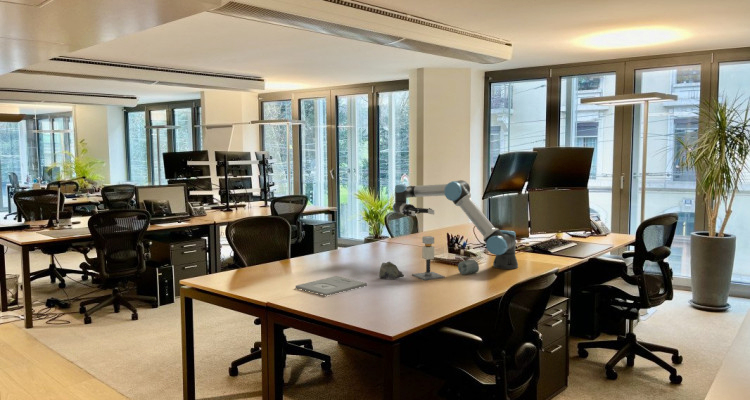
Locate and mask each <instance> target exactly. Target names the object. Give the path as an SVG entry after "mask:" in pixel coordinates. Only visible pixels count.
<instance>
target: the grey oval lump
mask: <svg viewBox="0 0 750 400" xmlns="http://www.w3.org/2000/svg"><path fill="white" fill-rule="evenodd" d="M457 269H458V272H459V273H460V274H461V275H462V276H466V275H469V274H476V273H478V272H479V270H480V266H479V263H478V262H477V261H476V260H474V259H467V260H463V261H459V263H458V264H457Z"/></svg>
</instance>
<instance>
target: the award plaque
mask: <svg viewBox="0 0 750 400" xmlns="http://www.w3.org/2000/svg"><path fill="white" fill-rule="evenodd" d="M364 286H365V287H367V286H368V283H367V282H364V281H360V280H355V279H351V278H347V277H344V276H343V277H342V276H339V275H334V276H331V277H330V276H329V277H327V278H322V279H318V280H313V281H308V282H305V283H301V284H297V285H295V289H296V288H298V289H297V290H299V289H302V290H306V291H310V292H314V293H318V294H323V295H326V296H327V295H330V294H335V293H339V292H343V291H346V292H348V291H347V290H350V291H352V290H351V289H354V290H356V289H355V288H357V289H360V288H359V287H361V288H364ZM302 290H301V291H302ZM306 291H305V292H306ZM310 292H309V293H310ZM314 293H313V294H314ZM343 293H344V292H343ZM318 294H317V295H318ZM339 294H340V293H339ZM335 295H336V294H335Z"/></svg>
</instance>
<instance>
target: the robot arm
mask: <svg viewBox="0 0 750 400" xmlns="http://www.w3.org/2000/svg"><path fill="white" fill-rule="evenodd" d="M470 191H471V187H470V184H469V183H468V182H467V181H466V180H461V179H460V180H453V181H449V182H448V183H443V184H440V183H439V184H427V185H409V186H407V185H406V184H396V185H395V187H394V203H393V205H392V210H393V212H394V213H396V214H398V215H404V216H405V217H416V214H429V215H433V216H435V210H434V209H433V208H430V207H429V208H423V207H416V206H414V204H412V203H407V199H410V198H420V197H421V198H423V197H424V198H425V197H445V198H446V199H447V200H449V201H451V202H452V203H453V204H454V205H455V207H456V206H457V207H460V209H461V211H463V212H464V214H465V215H466V217H467V218H468V219H469V221H470V222H471V223H472V224H473V225H474V226H475V227H476V229H477V231H479V233H480V234H481V236H482V237H483V242H484V244H485V245H486V249H487V251H488V252H489V253H490V254H491V255H495V257H494V260H493V262H492V263H493V267H494V268H496V269H500V270H514V269H518V267H519V263H518V260H517V256H516V238H517V236H516V234H517V233H516V232H515V231H514V230H506V229H505V230H503V229H499V228H497V227H495V226H494V225H493V224H492V223H491V221H490V220H489V219H488V218H487V217H486V215H485V213H483V211H482V210H481V209H480V207H479V206H478V205H477V204H476V202H475V201H474V200H473V198H471V196H472V194H471V192H470Z"/></svg>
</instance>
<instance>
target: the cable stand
mask: <svg viewBox="0 0 750 400" xmlns="http://www.w3.org/2000/svg"><path fill="white" fill-rule="evenodd" d="M421 241H422V244H424V246H426V247H430V246H433V244H435V237H434V236H432V235H429V236H428V235H427V236H422V240H421ZM411 276H412V277H415V278H416V279H417V278H418V279H420V280H422V281H429V280H437V279H445V278H446V277H445V276H444V275H442V274H441V273H437V272H435V271H431V259H428V260H426V259H425V271H424V272H418V273H412V274H411Z"/></svg>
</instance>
